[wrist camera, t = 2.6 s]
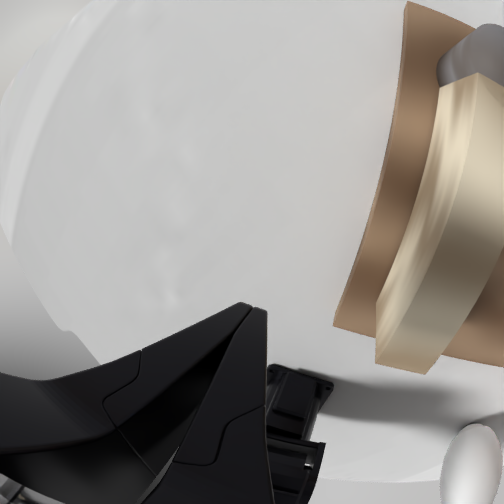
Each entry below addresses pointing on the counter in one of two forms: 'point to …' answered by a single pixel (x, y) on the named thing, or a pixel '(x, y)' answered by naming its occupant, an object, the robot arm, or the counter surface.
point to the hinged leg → (450, 211)
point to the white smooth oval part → (472, 467)
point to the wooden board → (405, 193)
